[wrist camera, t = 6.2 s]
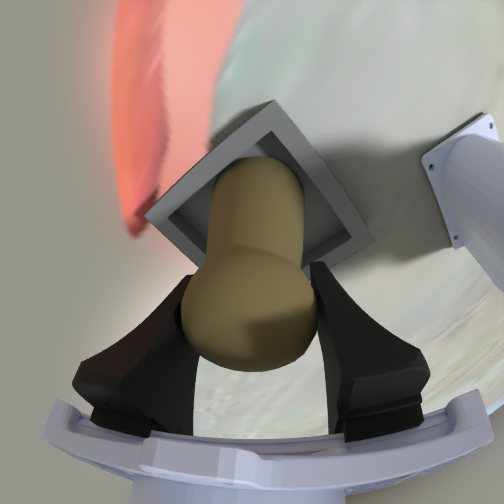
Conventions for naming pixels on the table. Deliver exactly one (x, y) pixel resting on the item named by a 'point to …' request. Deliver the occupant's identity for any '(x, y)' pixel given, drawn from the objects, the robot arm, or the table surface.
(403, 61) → the table surface
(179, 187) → the socket holder
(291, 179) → the cork
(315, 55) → the table surface
